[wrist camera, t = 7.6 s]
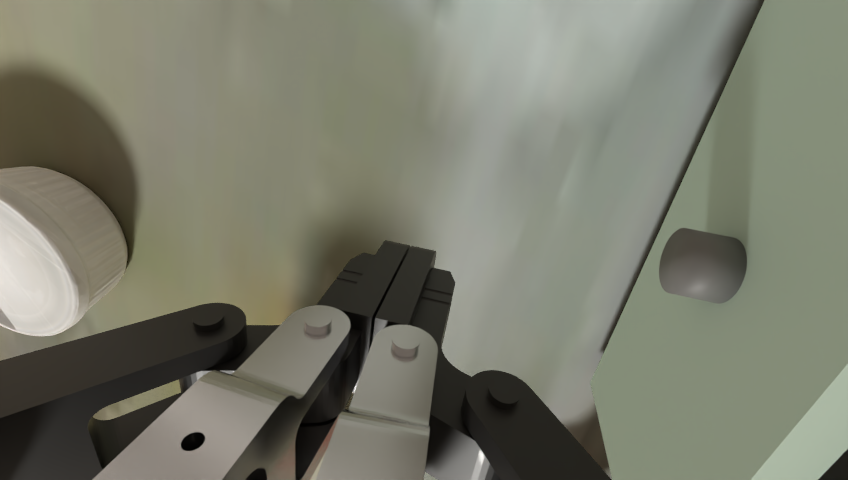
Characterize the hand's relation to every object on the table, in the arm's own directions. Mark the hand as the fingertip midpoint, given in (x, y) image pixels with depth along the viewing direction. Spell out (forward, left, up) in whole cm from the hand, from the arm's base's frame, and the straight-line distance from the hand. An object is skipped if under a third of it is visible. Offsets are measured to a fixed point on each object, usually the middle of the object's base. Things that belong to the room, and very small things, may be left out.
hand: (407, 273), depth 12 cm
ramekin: (+17, +22, -12) cm, 30 cm away
